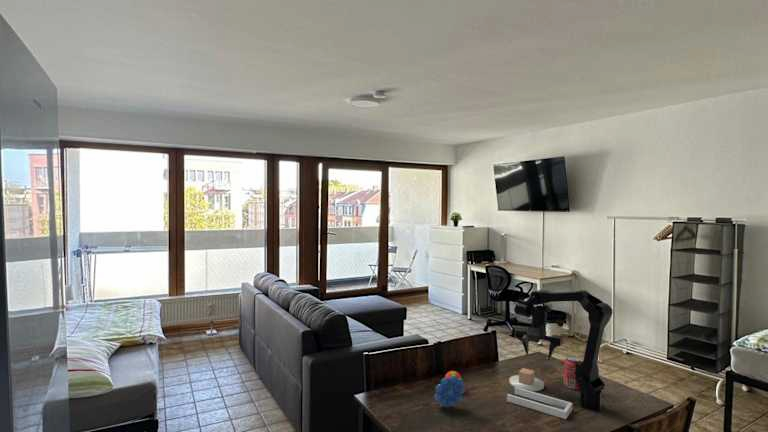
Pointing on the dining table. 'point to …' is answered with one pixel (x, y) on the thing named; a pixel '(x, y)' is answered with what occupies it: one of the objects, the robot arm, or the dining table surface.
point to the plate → (535, 386)
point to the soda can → (571, 372)
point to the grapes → (449, 391)
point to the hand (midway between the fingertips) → (538, 356)
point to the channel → (555, 408)
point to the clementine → (453, 374)
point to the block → (526, 376)
